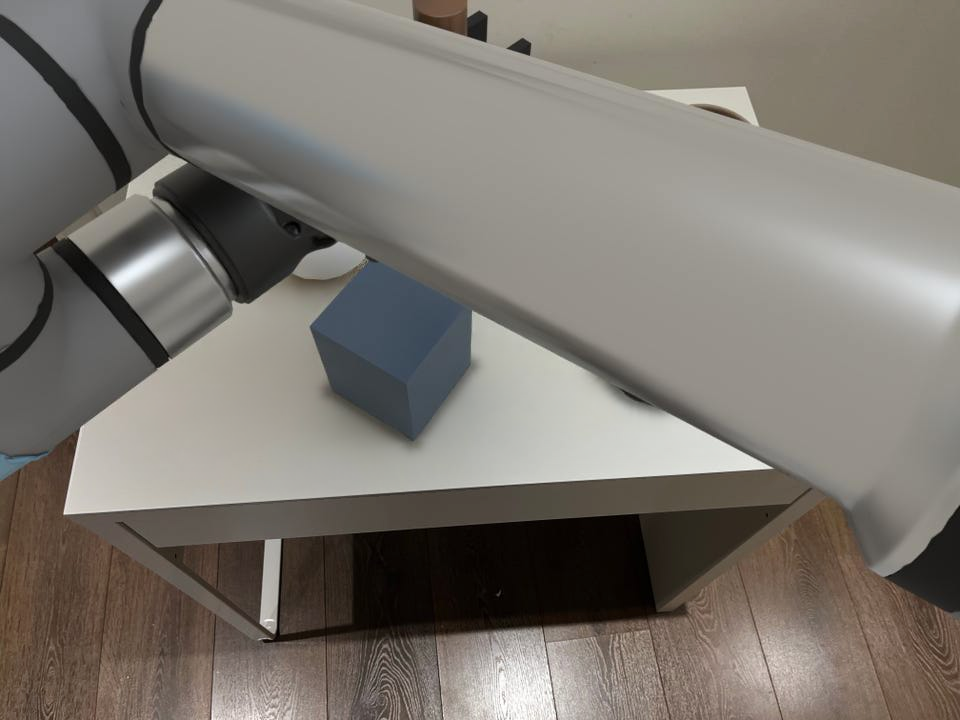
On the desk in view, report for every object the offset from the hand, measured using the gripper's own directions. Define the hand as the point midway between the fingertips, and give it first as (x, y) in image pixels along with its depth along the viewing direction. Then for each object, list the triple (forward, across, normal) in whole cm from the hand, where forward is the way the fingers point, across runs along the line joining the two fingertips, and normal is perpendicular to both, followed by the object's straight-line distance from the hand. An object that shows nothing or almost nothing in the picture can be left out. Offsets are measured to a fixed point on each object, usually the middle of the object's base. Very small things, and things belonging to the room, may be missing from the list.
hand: (503, 45), depth 45 cm
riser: (-11, -1, -33) cm, 35 cm away
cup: (-6, -19, -33) cm, 39 cm away
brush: (-5, 0, -9) cm, 11 cm away
